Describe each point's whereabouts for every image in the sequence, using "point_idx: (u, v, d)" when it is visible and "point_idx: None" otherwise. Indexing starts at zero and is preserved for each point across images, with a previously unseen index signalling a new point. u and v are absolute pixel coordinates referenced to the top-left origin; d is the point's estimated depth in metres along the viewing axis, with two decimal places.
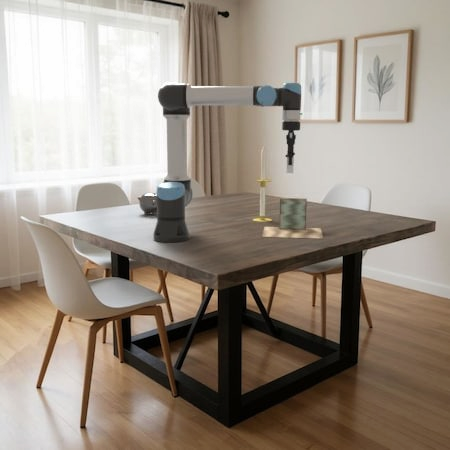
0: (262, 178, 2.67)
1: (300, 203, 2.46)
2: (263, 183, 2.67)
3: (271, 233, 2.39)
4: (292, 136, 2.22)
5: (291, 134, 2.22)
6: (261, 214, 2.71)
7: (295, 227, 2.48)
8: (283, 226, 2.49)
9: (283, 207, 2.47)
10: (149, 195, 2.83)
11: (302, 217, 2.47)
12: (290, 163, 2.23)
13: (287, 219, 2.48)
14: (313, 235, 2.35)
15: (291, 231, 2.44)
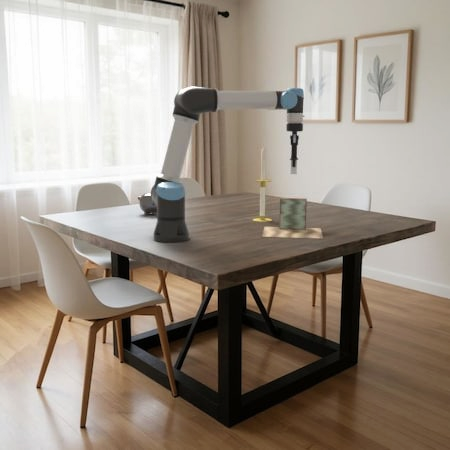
0: (262, 178, 2.67)
1: (300, 203, 2.46)
2: (263, 183, 2.67)
3: (271, 233, 2.39)
4: (295, 142, 2.45)
5: (294, 140, 2.45)
6: (261, 214, 2.71)
7: (295, 227, 2.48)
8: (283, 226, 2.49)
9: (283, 207, 2.47)
10: (149, 195, 2.83)
11: (302, 217, 2.47)
12: (294, 165, 2.51)
13: (287, 219, 2.48)
14: (313, 235, 2.35)
15: (291, 231, 2.44)
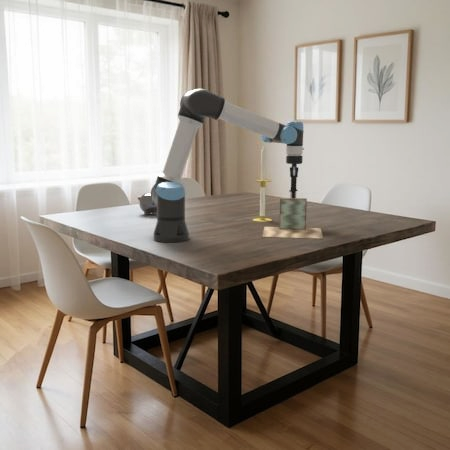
0: (262, 178, 2.67)
1: (300, 203, 2.46)
2: (263, 183, 2.67)
3: (271, 233, 2.39)
4: (295, 174, 2.48)
5: (294, 173, 2.48)
6: (261, 214, 2.71)
7: (295, 227, 2.48)
8: (283, 226, 2.49)
9: (283, 207, 2.47)
10: (149, 195, 2.83)
11: (302, 217, 2.47)
12: (293, 197, 2.54)
13: (287, 219, 2.48)
14: (313, 235, 2.35)
15: (291, 231, 2.44)
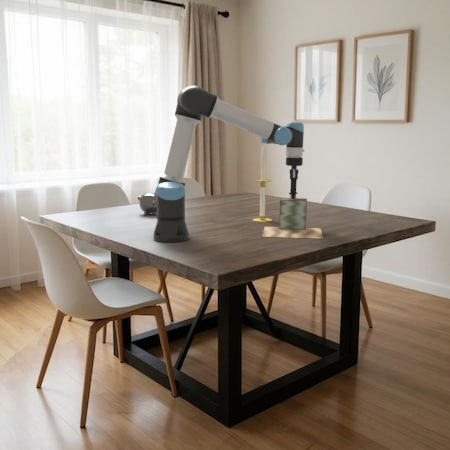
0: (262, 178, 2.67)
1: (300, 204, 2.44)
2: (263, 183, 2.67)
3: (271, 233, 2.39)
4: (295, 177, 2.41)
5: (294, 175, 2.41)
6: (261, 214, 2.71)
7: (295, 227, 2.48)
8: (283, 226, 2.48)
9: (283, 208, 2.46)
10: (149, 195, 2.83)
11: (302, 218, 2.46)
12: None
13: (287, 219, 2.47)
14: (313, 235, 2.35)
15: (291, 231, 2.44)
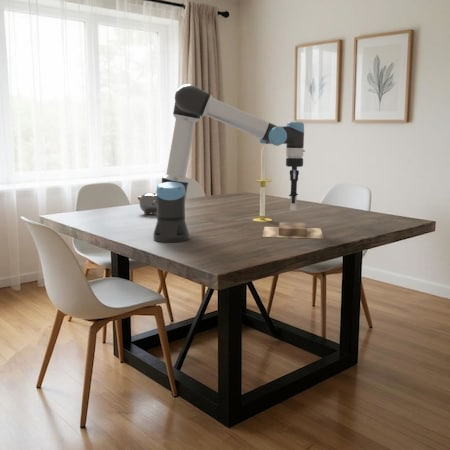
0: (262, 178, 2.67)
1: None
2: (263, 183, 2.67)
3: (271, 233, 2.39)
4: (295, 178, 2.35)
5: (294, 176, 2.34)
6: (261, 214, 2.71)
7: None
8: None
9: None
10: (149, 195, 2.83)
11: None
12: (293, 201, 2.41)
13: None
14: (313, 235, 2.35)
15: None
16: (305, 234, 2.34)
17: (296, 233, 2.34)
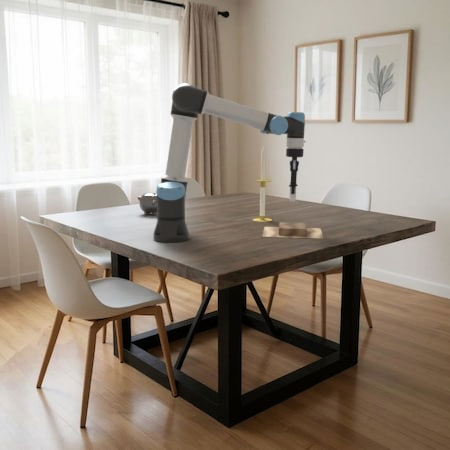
0: (262, 178, 2.67)
1: None
2: (263, 183, 2.67)
3: (271, 233, 2.39)
4: (295, 168, 2.34)
5: (294, 166, 2.34)
6: (261, 214, 2.71)
7: None
8: None
9: None
10: (149, 195, 2.83)
11: None
12: (293, 192, 2.40)
13: None
14: (313, 235, 2.35)
15: None
16: (305, 234, 2.34)
17: (296, 233, 2.34)
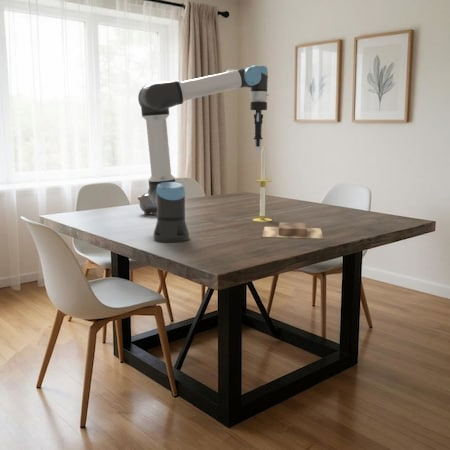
0: (262, 178, 2.67)
1: None
2: (263, 183, 2.67)
3: (271, 233, 2.39)
4: (259, 120, 2.42)
5: (257, 118, 2.41)
6: (261, 214, 2.71)
7: None
8: None
9: None
10: None
11: None
12: (258, 145, 2.48)
13: None
14: (313, 235, 2.35)
15: None
16: (305, 234, 2.34)
17: (296, 233, 2.34)
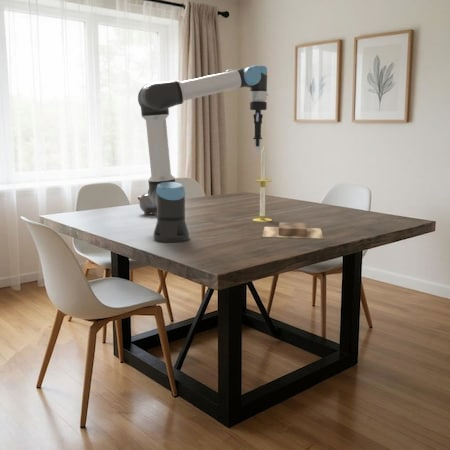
0: (262, 178, 2.67)
1: None
2: (263, 183, 2.67)
3: (271, 233, 2.39)
4: (258, 120, 2.42)
5: (257, 118, 2.41)
6: (261, 214, 2.71)
7: None
8: None
9: None
10: None
11: None
12: (257, 144, 2.48)
13: None
14: (313, 235, 2.35)
15: None
16: (305, 234, 2.34)
17: (296, 233, 2.34)
